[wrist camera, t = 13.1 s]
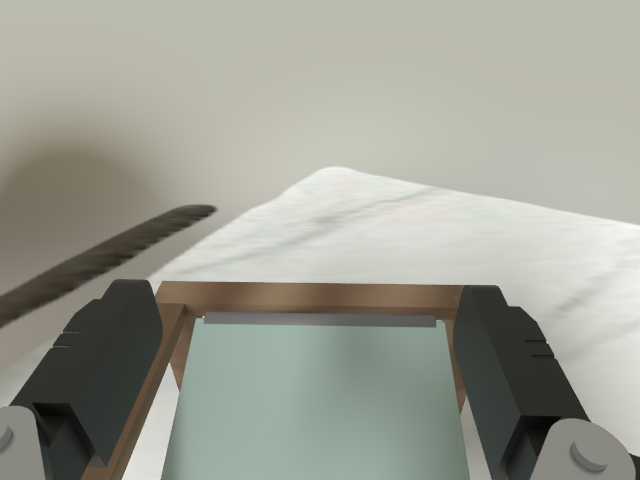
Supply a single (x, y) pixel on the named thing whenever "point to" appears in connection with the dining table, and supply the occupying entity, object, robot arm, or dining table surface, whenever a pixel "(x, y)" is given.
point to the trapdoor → (317, 400)
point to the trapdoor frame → (326, 298)
